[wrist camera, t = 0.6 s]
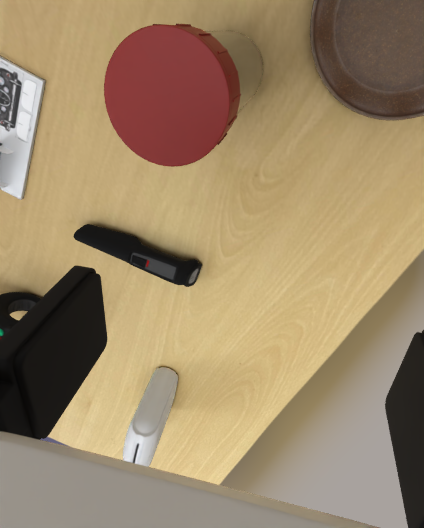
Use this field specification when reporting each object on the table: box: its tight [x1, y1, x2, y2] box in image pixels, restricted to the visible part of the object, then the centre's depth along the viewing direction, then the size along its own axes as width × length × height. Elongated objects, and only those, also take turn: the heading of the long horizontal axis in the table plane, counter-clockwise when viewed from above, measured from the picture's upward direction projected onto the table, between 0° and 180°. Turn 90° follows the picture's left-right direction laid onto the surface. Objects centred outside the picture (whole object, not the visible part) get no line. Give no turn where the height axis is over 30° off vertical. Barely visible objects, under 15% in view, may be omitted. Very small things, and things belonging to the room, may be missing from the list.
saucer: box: [310, 0, 424, 120], centre depth 30 cm, size 15×15×3 cm
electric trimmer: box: [74, 224, 202, 287], centre depth 47 cm, size 4×16×3 cm, turn 71°
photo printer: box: [123, 367, 178, 467], centre depth 56 cm, size 10×4×12 cm, turn 166°
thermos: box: [205, 31, 263, 114], centre depth 29 cm, size 6×6×18 cm
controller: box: [0, 292, 41, 339], centre depth 53 cm, size 4×12×10 cm, turn 64°
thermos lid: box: [104, 24, 241, 166], centre depth 22 cm, size 7×7×4 cm
